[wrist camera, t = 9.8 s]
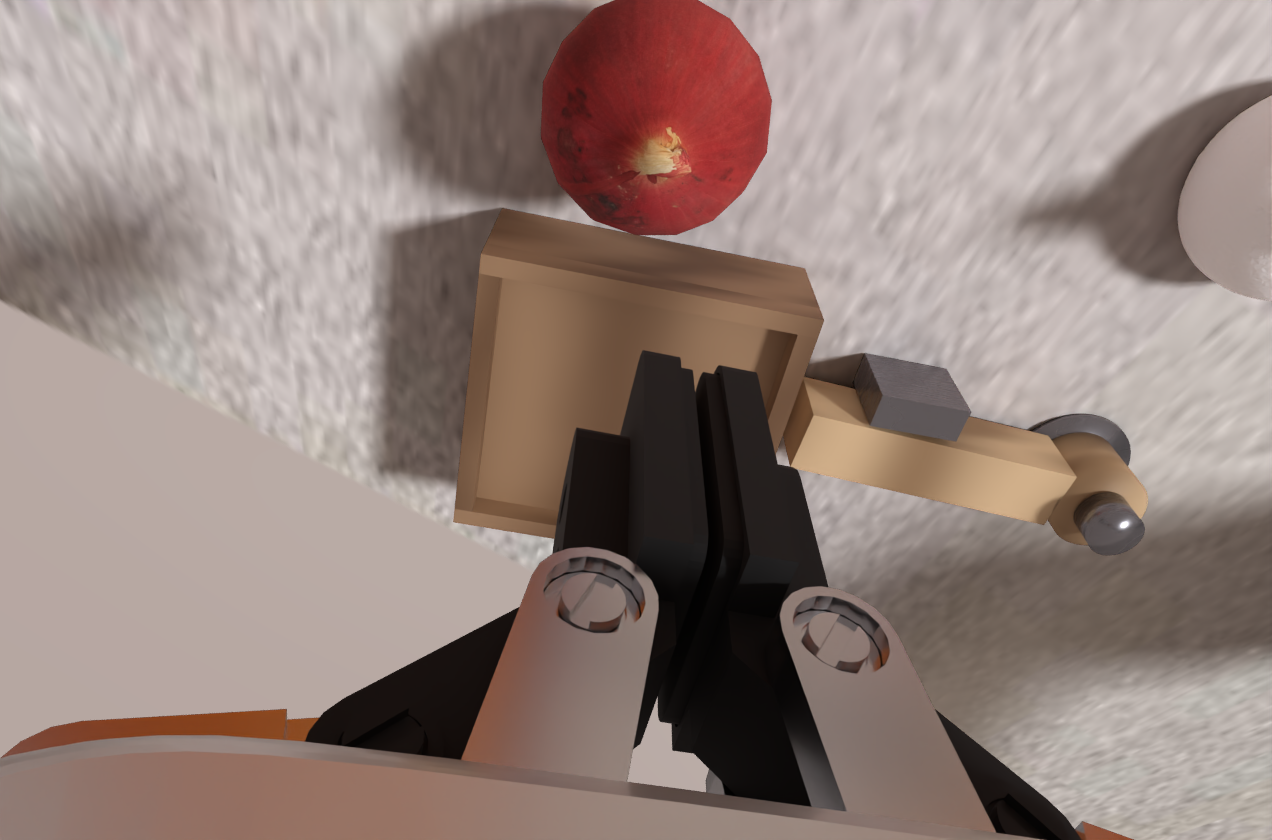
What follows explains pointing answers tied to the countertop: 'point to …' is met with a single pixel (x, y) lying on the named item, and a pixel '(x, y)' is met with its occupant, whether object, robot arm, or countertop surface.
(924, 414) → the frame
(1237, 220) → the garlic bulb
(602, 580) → the robot arm
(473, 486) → the wooden tray
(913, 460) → the leg
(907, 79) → the countertop surface
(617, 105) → the onion
